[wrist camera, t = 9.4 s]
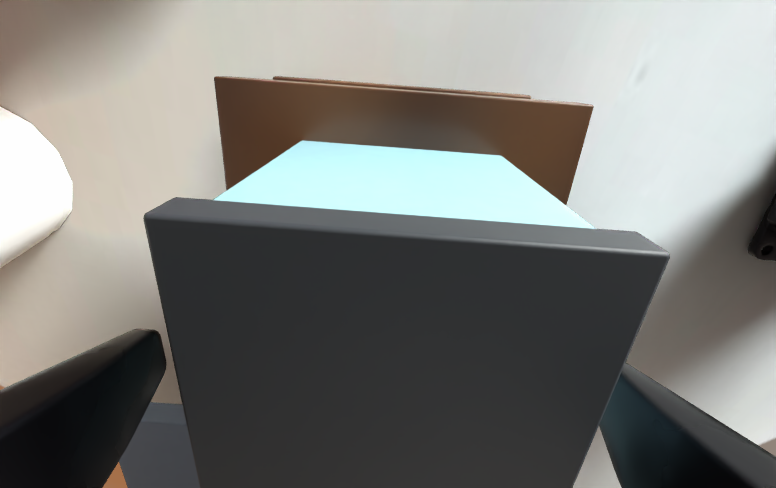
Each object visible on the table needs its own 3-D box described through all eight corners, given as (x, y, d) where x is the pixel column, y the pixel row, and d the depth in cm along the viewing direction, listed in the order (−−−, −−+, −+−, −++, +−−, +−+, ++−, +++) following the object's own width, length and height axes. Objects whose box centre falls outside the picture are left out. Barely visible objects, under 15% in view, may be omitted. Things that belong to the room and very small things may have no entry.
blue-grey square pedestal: (364, 340, 21) (351, 436, 15) (357, 462, 25) (346, 572, 19) (182, 327, 21) (103, 419, 15) (205, 451, 25) (150, 559, 19)
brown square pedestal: (524, 94, 15) (594, 105, 10) (482, 302, 19) (515, 390, 14) (279, 76, 15) (213, 76, 10) (289, 288, 19) (246, 371, 14)
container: (510, 148, 10) (674, 253, 4) (467, 363, 13) (525, 603, 7) (293, 132, 10) (139, 213, 4) (300, 351, 13) (218, 582, 7)
